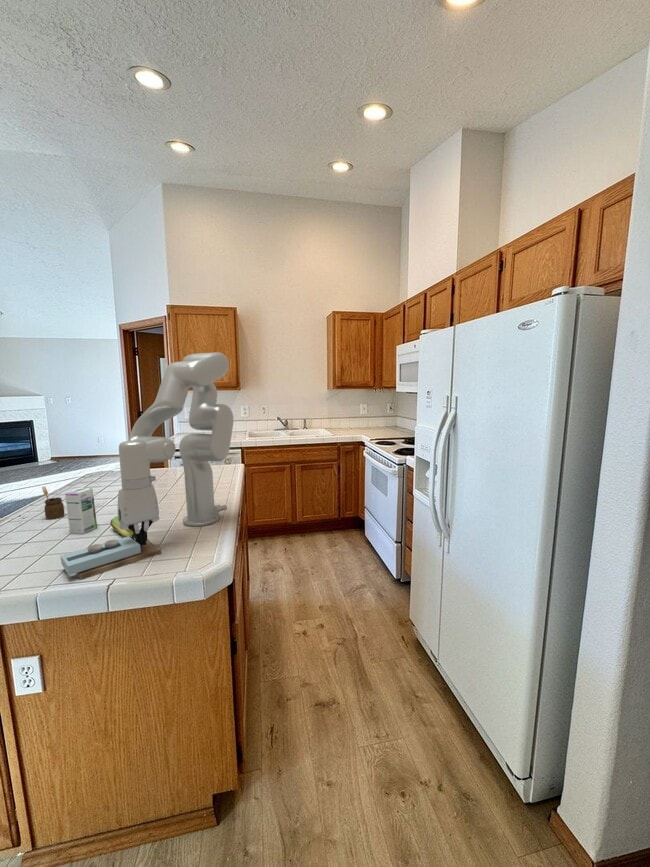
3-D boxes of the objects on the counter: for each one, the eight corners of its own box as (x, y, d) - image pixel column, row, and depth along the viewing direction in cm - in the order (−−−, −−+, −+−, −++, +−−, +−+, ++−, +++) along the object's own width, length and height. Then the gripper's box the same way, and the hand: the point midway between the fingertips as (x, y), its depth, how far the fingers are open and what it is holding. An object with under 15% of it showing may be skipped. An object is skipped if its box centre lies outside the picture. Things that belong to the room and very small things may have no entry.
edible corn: (124, 513, 131) (110, 512, 127) (144, 529, 116) (129, 529, 113) (121, 527, 130) (107, 527, 127) (141, 545, 116) (125, 545, 113)
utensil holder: (57, 519, 138) (53, 488, 136) (40, 519, 138) (37, 488, 136) (68, 514, 143) (65, 484, 142) (52, 514, 144) (49, 484, 142)
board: (147, 542, 114) (145, 526, 114) (161, 553, 107) (159, 535, 106) (70, 565, 100) (68, 546, 100) (80, 579, 93) (78, 559, 92)
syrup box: (83, 534, 123) (79, 492, 121) (69, 533, 124) (64, 491, 122) (97, 527, 128) (93, 487, 126) (83, 527, 129) (78, 486, 127)
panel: (129, 543, 110) (129, 536, 110) (140, 552, 104) (140, 544, 103) (61, 563, 98) (60, 555, 98) (68, 575, 92) (67, 566, 91)
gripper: (157, 476, 114) (162, 533, 116) (103, 486, 103) (109, 548, 105) (168, 480, 108) (172, 540, 111) (111, 491, 98) (117, 556, 100)
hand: (141, 544), depth 108 cm, fingers closed
